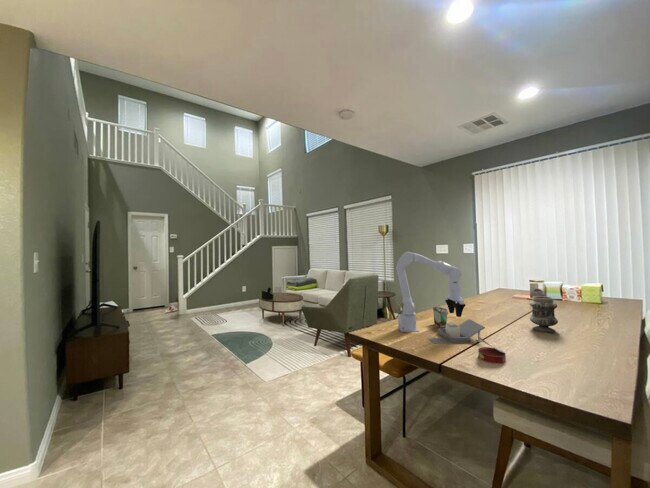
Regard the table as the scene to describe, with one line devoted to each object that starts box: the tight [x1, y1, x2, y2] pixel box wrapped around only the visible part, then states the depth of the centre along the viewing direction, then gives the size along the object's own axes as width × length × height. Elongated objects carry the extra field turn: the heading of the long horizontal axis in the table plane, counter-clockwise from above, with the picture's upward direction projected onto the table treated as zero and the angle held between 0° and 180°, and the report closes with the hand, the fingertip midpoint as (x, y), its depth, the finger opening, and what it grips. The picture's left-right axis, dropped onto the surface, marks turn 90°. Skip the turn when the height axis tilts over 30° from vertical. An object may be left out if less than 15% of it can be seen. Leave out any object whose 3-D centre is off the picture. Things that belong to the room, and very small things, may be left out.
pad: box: [428, 337, 449, 345], centre depth 137 cm, size 7×7×1 cm
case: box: [437, 318, 486, 344], centre depth 141 cm, size 17×14×7 cm
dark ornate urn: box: [529, 295, 559, 334], centre depth 150 cm, size 12×12×18 cm
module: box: [445, 323, 460, 337], centre depth 141 cm, size 5×5×6 cm
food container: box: [432, 306, 449, 329], centre depth 161 cm, size 12×6×10 cm, turn 179°
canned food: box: [477, 337, 507, 364], centre depth 116 cm, size 11×10×10 cm
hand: (455, 314), depth 148 cm, fingers open, 7 cm apart
